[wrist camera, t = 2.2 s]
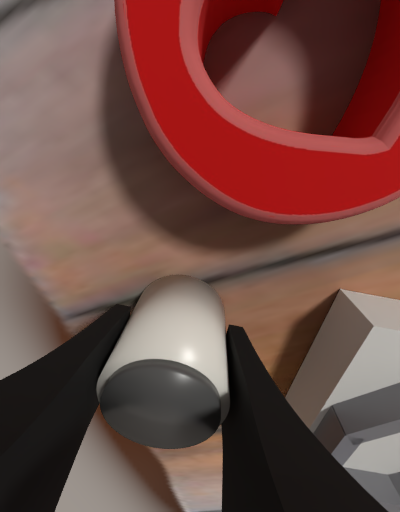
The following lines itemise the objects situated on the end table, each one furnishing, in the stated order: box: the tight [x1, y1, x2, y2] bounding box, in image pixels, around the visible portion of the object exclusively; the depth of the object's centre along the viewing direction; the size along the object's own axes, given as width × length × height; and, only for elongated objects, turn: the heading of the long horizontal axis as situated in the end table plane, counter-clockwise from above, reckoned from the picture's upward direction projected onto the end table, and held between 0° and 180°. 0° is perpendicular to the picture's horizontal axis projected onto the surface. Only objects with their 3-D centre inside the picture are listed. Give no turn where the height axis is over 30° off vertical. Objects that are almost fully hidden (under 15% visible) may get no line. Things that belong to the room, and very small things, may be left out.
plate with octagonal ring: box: [285, 289, 400, 512], centre depth 12 cm, size 12×8×4 cm, turn 170°
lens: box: [96, 275, 230, 449], centre depth 10 cm, size 4×4×5 cm
